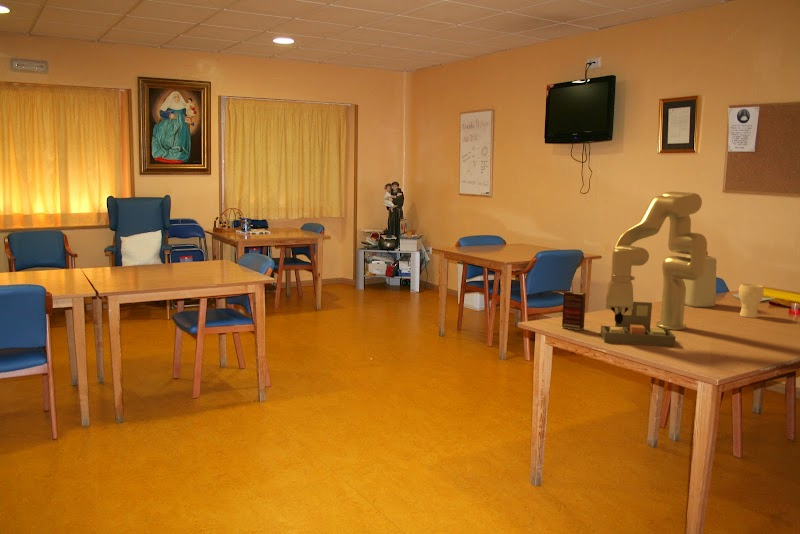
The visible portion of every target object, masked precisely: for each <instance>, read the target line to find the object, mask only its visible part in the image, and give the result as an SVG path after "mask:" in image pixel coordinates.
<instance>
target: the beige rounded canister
mask: <svg viewBox="0 0 800 534" xmlns="http://www.w3.org/2000/svg"><path fill="white" fill-rule="evenodd" d="M708 252H709V251H707V254H706V263H705V271H704V275H703V277H702V278H701V279H700V280H698V281H692V280H686V279H683V281H684V283H685V286H686V297H685V305H686V306H688V307H691V308H712V307H715V306H716V304H717V297H716V296H717V258H716V257H713V256H709V253H708ZM685 257H687V258H691V256H690V255H688V254H687V255H685Z"/></svg>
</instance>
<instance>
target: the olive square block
mask: <svg viewBox="0 0 800 534" xmlns="http://www.w3.org/2000/svg"><path fill="white" fill-rule="evenodd" d="M661 329H662V328H650V334H651V335H666V332H665V331H664V330H661Z"/></svg>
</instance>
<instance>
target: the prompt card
mask: <svg viewBox="0 0 800 534" xmlns="http://www.w3.org/2000/svg"><path fill="white" fill-rule="evenodd" d="M620 310H621V307H618V312H619V313H620ZM652 311H653V303H652V302H649V301H647V302H646V301H633V309H632V310H627V311H626V312H625V313H624V314H623V322H621V324H617V323H616V321H615V320H614V324H615V325H614V326H615V327H630V325H643V326H644V327H645V328H650V329H651V324H652V323H651V320H652Z"/></svg>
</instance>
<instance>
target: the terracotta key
mask: <svg viewBox="0 0 800 534" xmlns="http://www.w3.org/2000/svg"><path fill="white" fill-rule="evenodd" d="M630 334H645V327H644V326H643V325H630Z"/></svg>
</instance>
